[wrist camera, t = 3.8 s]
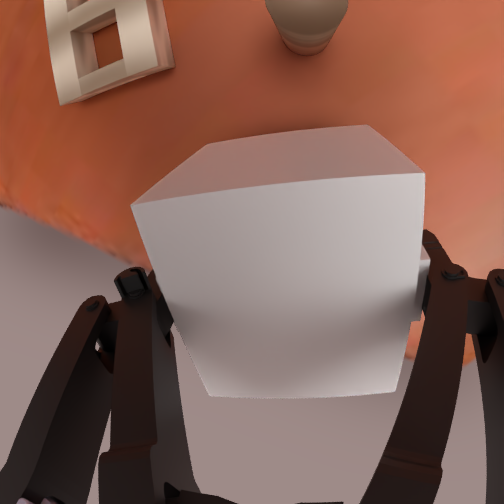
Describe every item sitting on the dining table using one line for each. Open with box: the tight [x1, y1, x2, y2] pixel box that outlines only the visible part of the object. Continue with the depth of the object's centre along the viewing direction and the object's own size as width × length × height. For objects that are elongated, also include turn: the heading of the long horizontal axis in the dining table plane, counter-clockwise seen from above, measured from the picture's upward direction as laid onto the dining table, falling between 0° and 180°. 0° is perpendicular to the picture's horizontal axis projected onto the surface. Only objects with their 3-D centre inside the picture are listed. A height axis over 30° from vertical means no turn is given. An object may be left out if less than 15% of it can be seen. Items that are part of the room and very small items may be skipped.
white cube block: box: [130, 125, 425, 398], centre depth 13 cm, size 9×8×8 cm
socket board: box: [44, 0, 175, 106], centre depth 16 cm, size 13×9×3 cm
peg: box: [265, 0, 348, 56], centre depth 13 cm, size 3×3×10 cm
